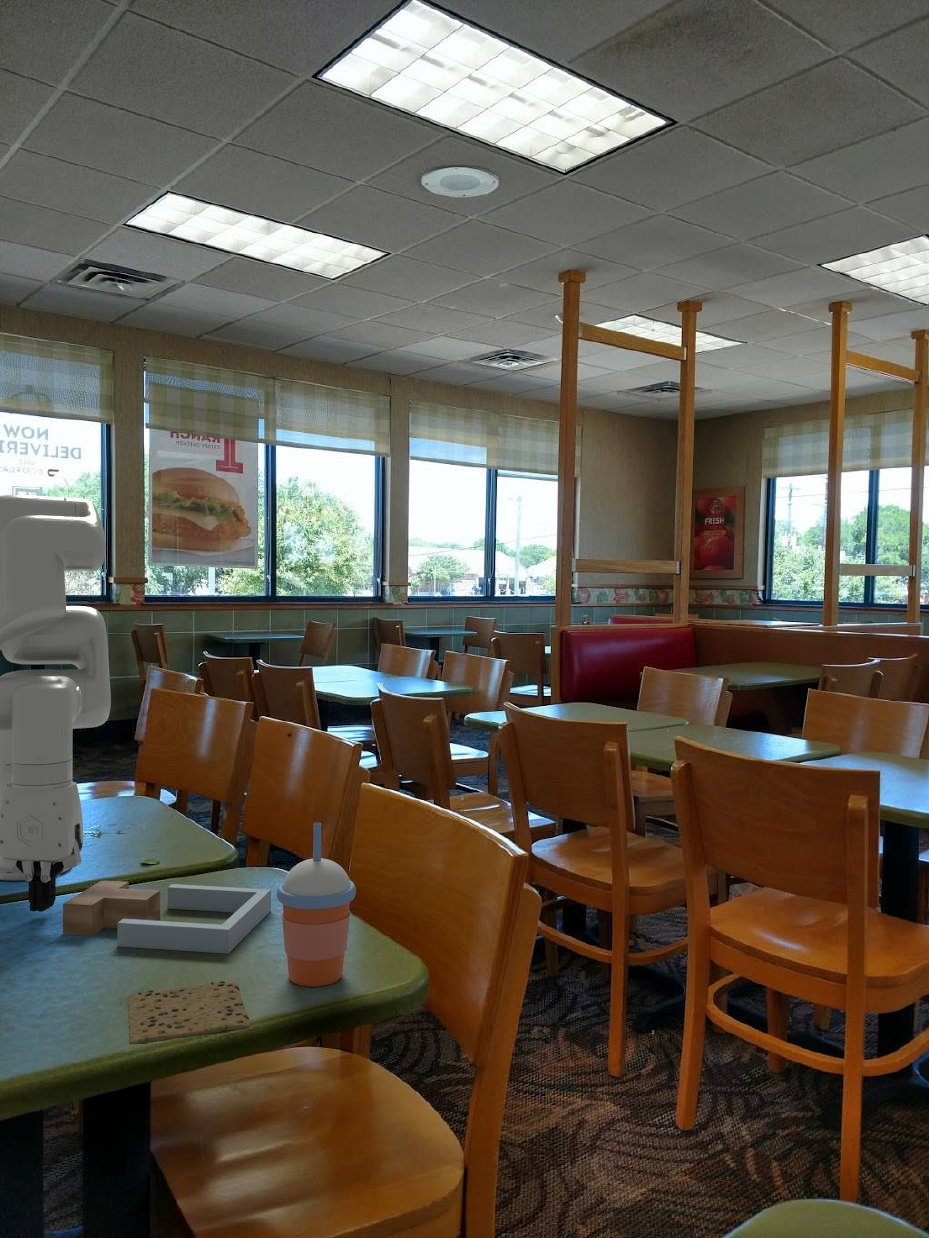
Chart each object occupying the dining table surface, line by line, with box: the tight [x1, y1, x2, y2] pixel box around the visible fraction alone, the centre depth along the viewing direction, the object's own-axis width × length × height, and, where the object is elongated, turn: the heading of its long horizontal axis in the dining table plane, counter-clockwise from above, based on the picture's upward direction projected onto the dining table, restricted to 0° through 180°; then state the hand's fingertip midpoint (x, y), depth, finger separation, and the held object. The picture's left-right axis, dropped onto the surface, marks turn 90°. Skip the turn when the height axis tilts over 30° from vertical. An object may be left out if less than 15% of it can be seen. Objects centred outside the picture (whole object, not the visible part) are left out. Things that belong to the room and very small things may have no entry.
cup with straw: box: [276, 822, 357, 988], centre depth 111 cm, size 9×9×18 cm
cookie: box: [127, 980, 251, 1045], centre depth 102 cm, size 12×12×1 cm
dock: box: [116, 883, 272, 955], centre depth 127 cm, size 16×14×3 cm
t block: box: [62, 880, 161, 936], centre depth 128 cm, size 10×10×4 cm
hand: (42, 908), depth 129 cm, fingers closed
